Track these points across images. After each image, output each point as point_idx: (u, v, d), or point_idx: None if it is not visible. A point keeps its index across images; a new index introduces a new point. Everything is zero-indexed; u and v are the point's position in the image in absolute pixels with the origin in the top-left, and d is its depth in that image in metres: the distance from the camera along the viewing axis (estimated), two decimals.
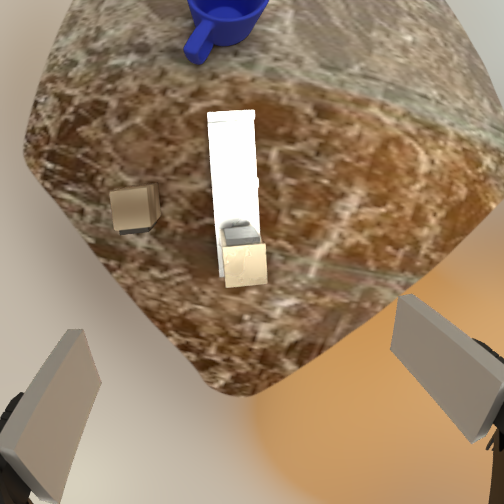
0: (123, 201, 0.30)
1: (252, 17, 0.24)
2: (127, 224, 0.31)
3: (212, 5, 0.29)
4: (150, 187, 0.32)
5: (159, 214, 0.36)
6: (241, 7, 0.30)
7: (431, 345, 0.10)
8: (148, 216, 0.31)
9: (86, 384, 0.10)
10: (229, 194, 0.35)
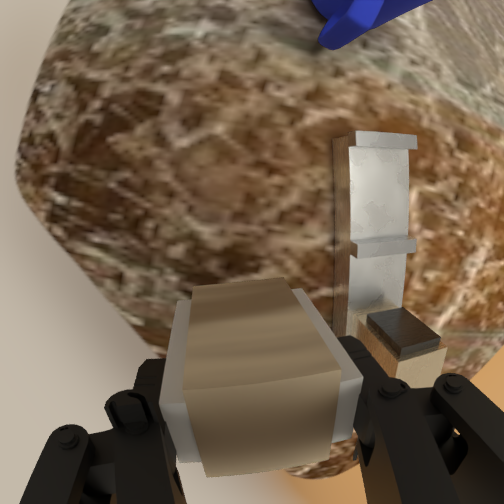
0: (245, 416, 0.08)
1: None
2: (253, 465, 0.08)
3: None
4: None
5: None
6: None
7: None
8: (328, 441, 0.08)
9: None
10: (372, 261, 0.22)
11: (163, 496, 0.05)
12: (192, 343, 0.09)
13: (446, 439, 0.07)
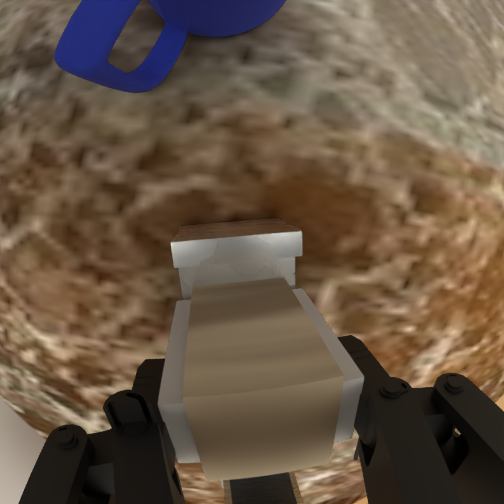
0: (246, 422, 0.07)
1: None
2: (254, 469, 0.08)
3: None
4: None
5: None
6: None
7: None
8: (329, 445, 0.08)
9: None
10: None
11: (162, 496, 0.05)
12: (192, 347, 0.09)
13: (447, 439, 0.07)
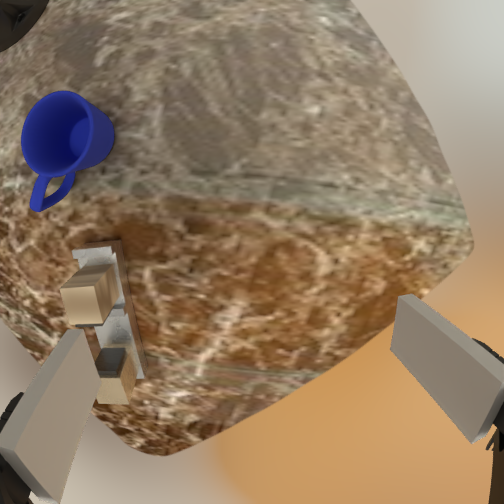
0: (74, 298, 0.28)
1: (78, 165, 0.25)
2: (80, 319, 0.28)
3: (74, 120, 0.30)
4: (100, 280, 0.30)
5: (116, 297, 0.34)
6: None
7: (431, 345, 0.10)
8: (99, 313, 0.28)
9: (86, 384, 0.10)
10: None
11: None
12: (69, 280, 0.29)
13: None
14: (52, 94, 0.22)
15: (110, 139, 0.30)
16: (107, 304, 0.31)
